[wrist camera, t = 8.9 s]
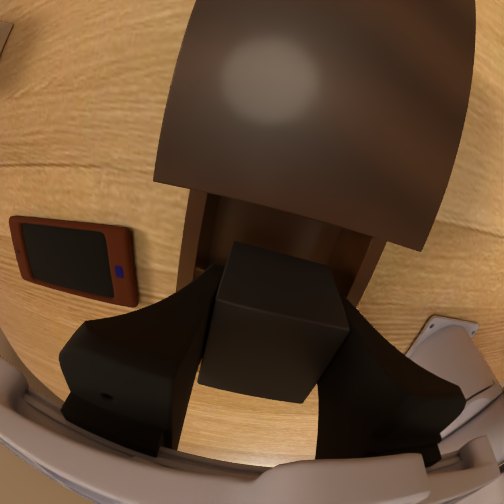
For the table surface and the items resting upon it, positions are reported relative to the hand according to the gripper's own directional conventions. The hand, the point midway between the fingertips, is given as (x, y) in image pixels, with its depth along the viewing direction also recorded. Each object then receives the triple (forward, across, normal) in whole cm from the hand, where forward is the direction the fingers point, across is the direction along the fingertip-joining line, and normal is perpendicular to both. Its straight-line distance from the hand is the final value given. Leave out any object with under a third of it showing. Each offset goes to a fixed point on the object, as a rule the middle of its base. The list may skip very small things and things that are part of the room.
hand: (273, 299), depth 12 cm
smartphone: (+8, +17, +7) cm, 20 cm away
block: (+1, 0, +1) cm, 2 cm away
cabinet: (+8, 0, -10) cm, 13 cm away
